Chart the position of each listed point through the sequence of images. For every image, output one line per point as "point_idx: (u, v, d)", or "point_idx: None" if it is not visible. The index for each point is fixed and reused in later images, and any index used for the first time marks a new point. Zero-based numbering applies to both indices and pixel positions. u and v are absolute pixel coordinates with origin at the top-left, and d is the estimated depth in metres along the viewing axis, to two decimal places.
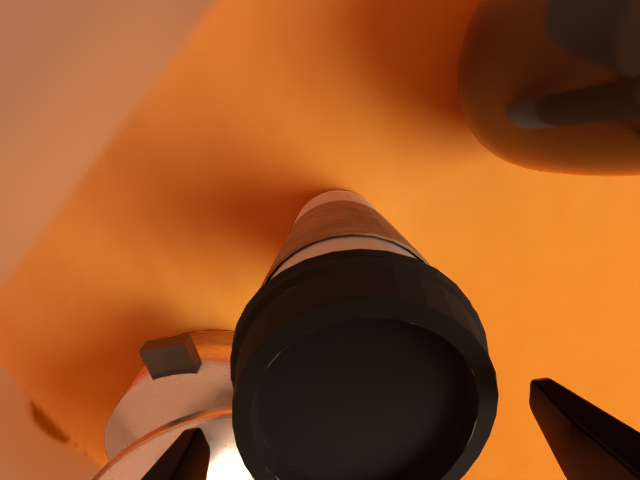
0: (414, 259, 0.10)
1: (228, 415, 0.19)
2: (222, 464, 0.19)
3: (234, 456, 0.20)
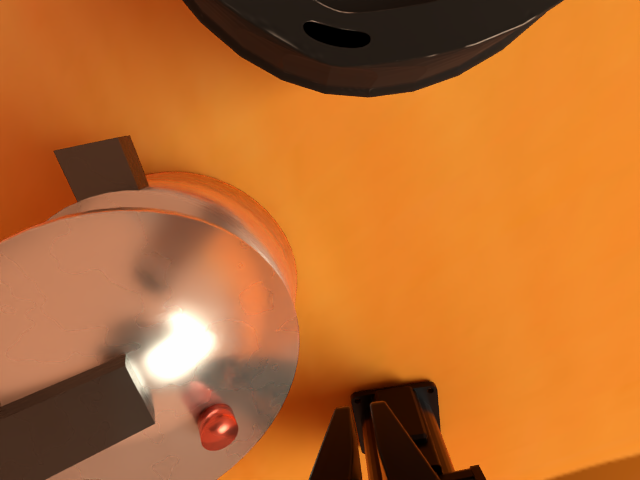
0: None
1: (174, 214, 0.13)
2: (165, 292, 0.13)
3: (185, 284, 0.13)
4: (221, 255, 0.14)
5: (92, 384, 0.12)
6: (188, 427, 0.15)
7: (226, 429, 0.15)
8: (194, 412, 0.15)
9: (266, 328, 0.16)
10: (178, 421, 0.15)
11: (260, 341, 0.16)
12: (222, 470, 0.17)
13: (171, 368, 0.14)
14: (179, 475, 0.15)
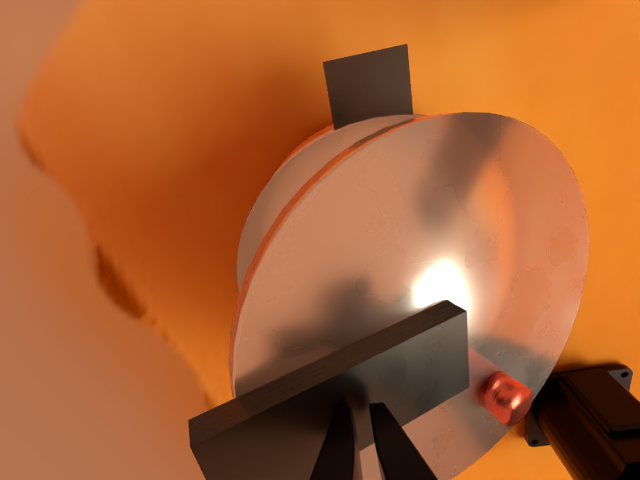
0: None
1: (523, 125, 0.10)
2: (496, 225, 0.11)
3: (514, 217, 0.11)
4: (551, 185, 0.11)
5: (436, 331, 0.10)
6: (471, 396, 0.13)
7: (523, 401, 0.12)
8: (479, 379, 0.13)
9: (559, 283, 0.13)
10: (465, 388, 0.12)
11: (551, 299, 0.13)
12: (482, 451, 0.14)
13: (476, 322, 0.12)
14: (450, 453, 0.13)
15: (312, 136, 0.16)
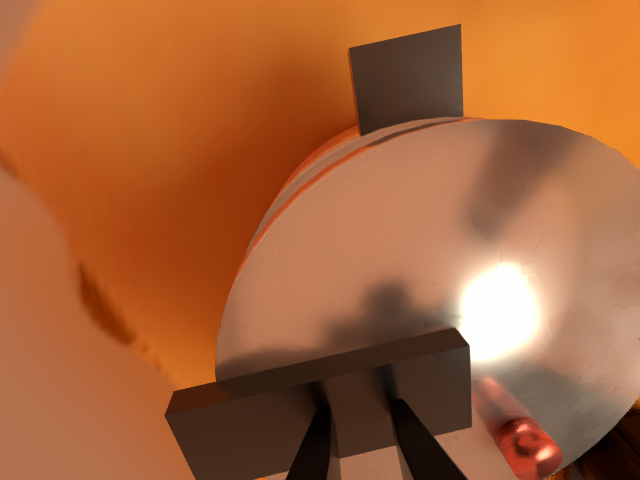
0: None
1: (580, 134, 0.08)
2: (529, 253, 0.09)
3: (557, 245, 0.09)
4: (620, 211, 0.09)
5: (428, 360, 0.09)
6: (485, 436, 0.11)
7: (548, 459, 0.10)
8: (498, 420, 0.11)
9: (628, 332, 0.10)
10: (477, 426, 0.11)
11: (613, 348, 0.10)
12: None
13: (495, 358, 0.10)
14: None
15: (330, 142, 0.13)
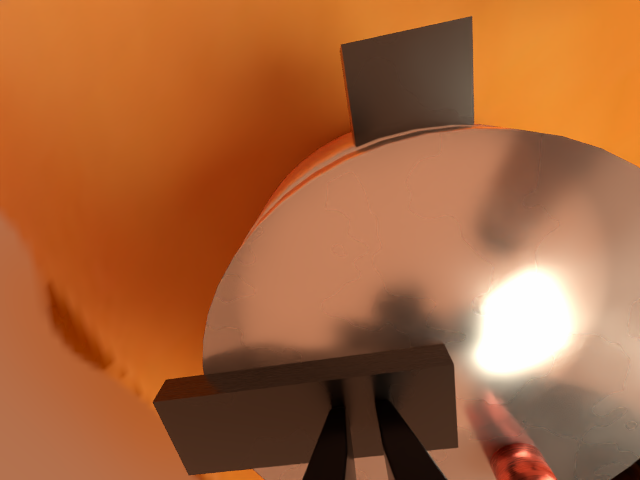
0: None
1: (590, 146, 0.07)
2: (528, 272, 0.08)
3: (560, 265, 0.08)
4: (638, 231, 0.08)
5: (408, 375, 0.09)
6: (478, 457, 0.11)
7: None
8: (493, 443, 0.10)
9: None
10: (470, 446, 0.11)
11: (629, 381, 0.09)
12: None
13: (490, 379, 0.10)
14: None
15: (321, 151, 0.12)
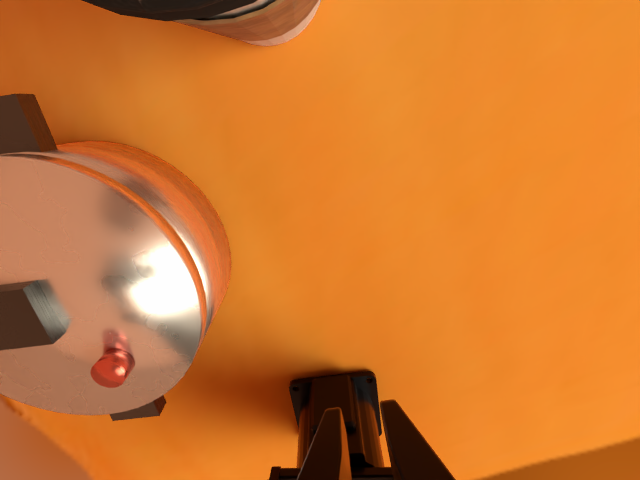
0: None
1: (67, 168, 0.14)
2: (63, 237, 0.15)
3: (79, 233, 0.14)
4: (111, 215, 0.14)
5: None
6: (95, 358, 0.17)
7: (112, 373, 0.16)
8: (99, 348, 0.17)
9: (162, 296, 0.16)
10: (86, 350, 0.17)
11: (157, 306, 0.16)
12: (129, 406, 0.18)
13: (75, 304, 0.16)
14: (91, 393, 0.18)
15: None
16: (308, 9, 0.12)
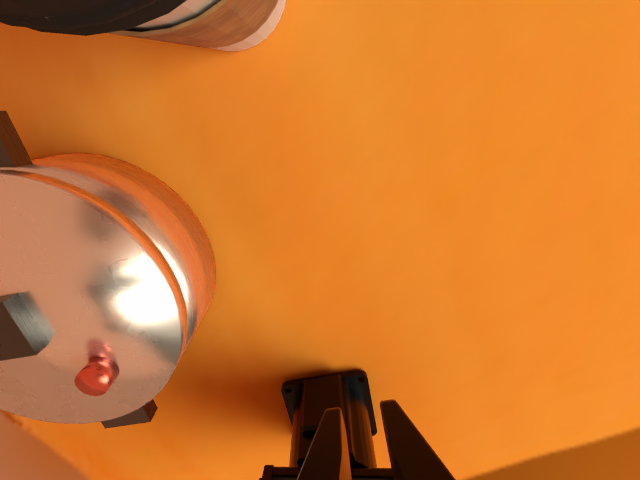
0: None
1: (38, 181, 0.14)
2: (39, 249, 0.15)
3: (55, 245, 0.15)
4: (84, 226, 0.14)
5: None
6: (80, 367, 0.17)
7: (96, 381, 0.16)
8: (83, 357, 0.17)
9: (140, 303, 0.16)
10: (70, 359, 0.17)
11: (137, 314, 0.16)
12: (117, 414, 0.19)
13: (56, 314, 0.16)
14: (79, 402, 0.18)
15: None
16: (263, 13, 0.12)
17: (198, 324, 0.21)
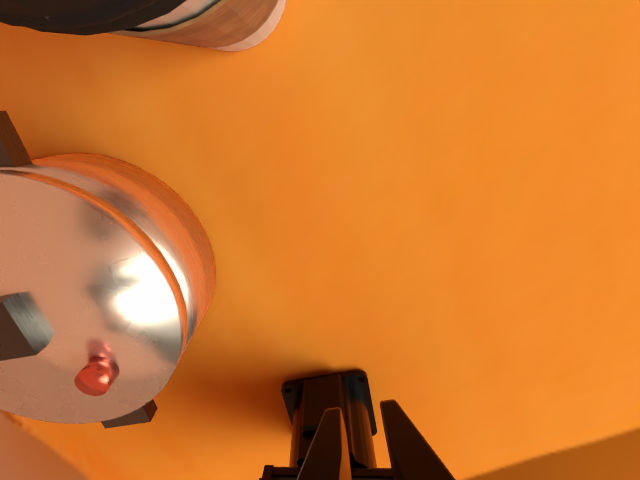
0: None
1: (38, 181, 0.14)
2: (39, 249, 0.15)
3: (55, 245, 0.15)
4: (84, 226, 0.14)
5: None
6: (80, 367, 0.17)
7: (96, 381, 0.16)
8: (83, 357, 0.17)
9: (140, 303, 0.16)
10: (70, 359, 0.17)
11: (137, 314, 0.16)
12: (117, 414, 0.19)
13: (56, 314, 0.16)
14: (79, 402, 0.18)
15: None
16: (263, 13, 0.12)
17: (198, 324, 0.21)
